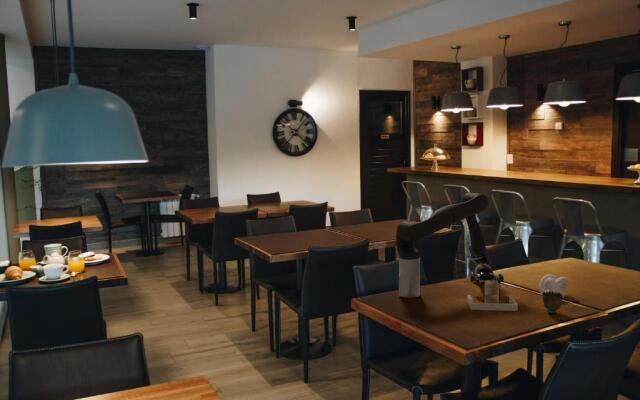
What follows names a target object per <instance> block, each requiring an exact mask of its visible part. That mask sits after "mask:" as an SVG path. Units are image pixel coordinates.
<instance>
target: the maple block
mask: <svg viewBox="0 0 640 400" xmlns="http://www.w3.org/2000/svg"><path fill="white" fill-rule="evenodd" d="M499 289H500V284H499V283H498V281H492V280H485V283H484V303H497V304H500V302H499V297H500V295H499V293H500V291H499Z"/></svg>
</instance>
